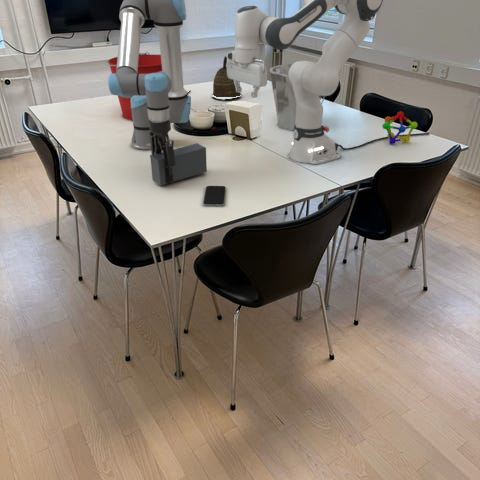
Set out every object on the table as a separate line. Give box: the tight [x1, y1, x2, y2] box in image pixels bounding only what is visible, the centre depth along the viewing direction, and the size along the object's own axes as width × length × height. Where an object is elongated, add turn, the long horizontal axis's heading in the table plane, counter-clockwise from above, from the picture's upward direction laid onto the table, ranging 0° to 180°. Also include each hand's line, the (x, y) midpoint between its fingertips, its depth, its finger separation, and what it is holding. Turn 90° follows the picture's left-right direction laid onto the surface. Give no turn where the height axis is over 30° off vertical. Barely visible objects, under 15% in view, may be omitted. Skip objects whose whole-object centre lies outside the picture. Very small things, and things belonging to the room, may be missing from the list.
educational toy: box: [382, 110, 418, 145], centre depth 207 cm, size 16×13×15 cm
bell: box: [212, 55, 242, 97], centre depth 278 cm, size 19×26×20 cm
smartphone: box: [203, 185, 226, 207], centre depth 161 cm, size 7×1×15 cm
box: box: [149, 143, 208, 186], centre depth 171 cm, size 21×6×10 cm, turn 128°
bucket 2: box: [269, 63, 325, 131], centre depth 226 cm, size 30×30×28 cm
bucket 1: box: [104, 51, 162, 121], centre depth 240 cm, size 35×35×30 cm
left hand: (165, 178), depth 170 cm, fingers closed on box, 6 cm apart
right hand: (246, 94), depth 169 cm, fingers open, 8 cm apart
